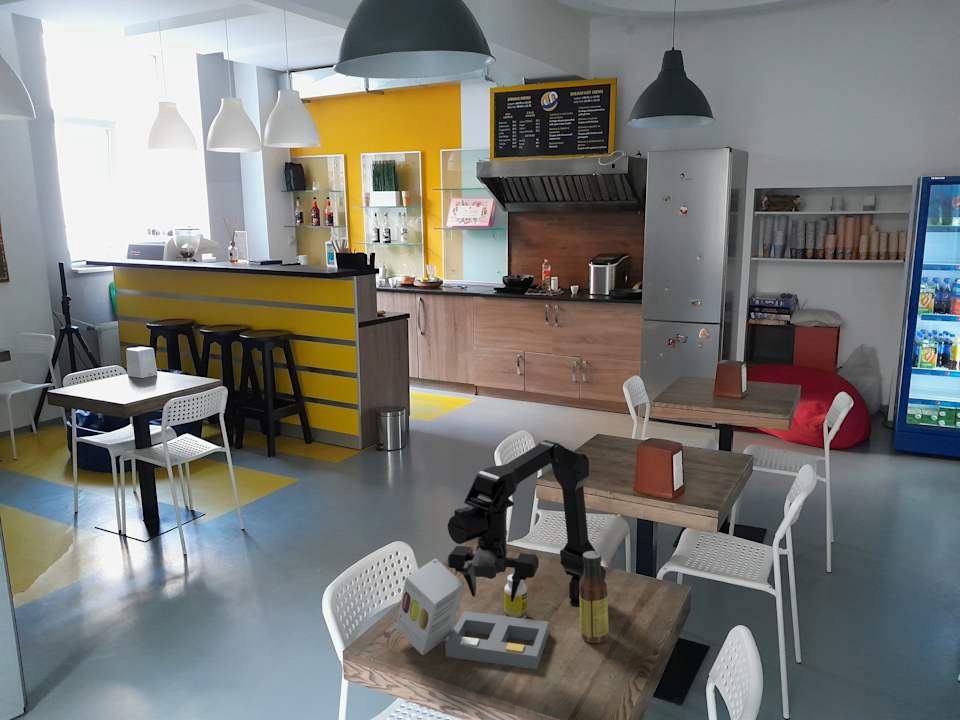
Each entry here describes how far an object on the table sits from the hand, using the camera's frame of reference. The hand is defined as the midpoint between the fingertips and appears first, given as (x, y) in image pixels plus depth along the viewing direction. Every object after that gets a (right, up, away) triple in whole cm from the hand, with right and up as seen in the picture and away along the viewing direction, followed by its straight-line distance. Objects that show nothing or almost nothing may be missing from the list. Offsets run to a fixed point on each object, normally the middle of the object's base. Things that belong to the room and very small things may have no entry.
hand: (493, 598), depth 157 cm
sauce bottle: (+23, -11, +7) cm, 26 cm away
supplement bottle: (+6, -10, +17) cm, 20 cm away
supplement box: (-16, -10, +7) cm, 20 cm away
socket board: (+1, -12, +5) cm, 13 cm away
